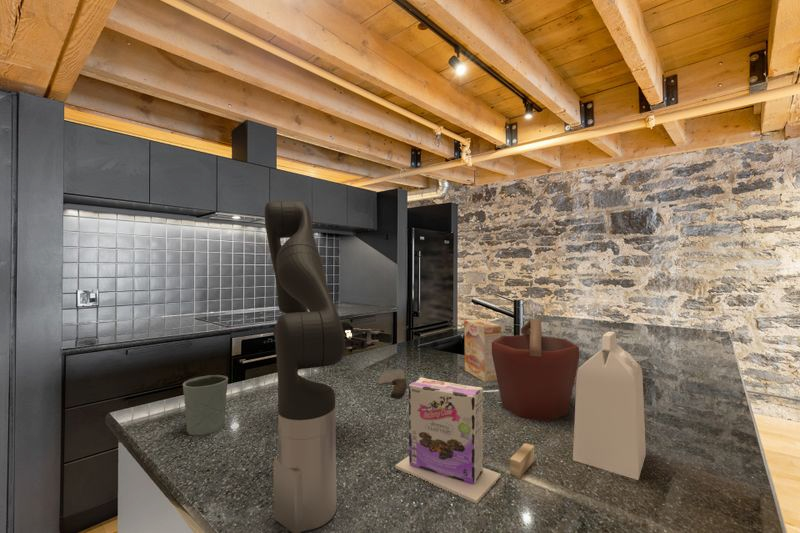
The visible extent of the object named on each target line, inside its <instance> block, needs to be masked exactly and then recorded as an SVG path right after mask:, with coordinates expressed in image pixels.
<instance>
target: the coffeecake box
mask: <svg viewBox="0 0 800 533" xmlns="http://www.w3.org/2000/svg"><path fill="white" fill-rule="evenodd" d="M463 325H464V371H465V372H467V373H469V374H471V376H474V377H475V378H477V379H479V380H480V381H482V382H484V383H489V382H494V381H497V376H496V371H495V366H494V362H493V357H492V342H493V341H494V340H496V339H498V338H499V337H501V336H502V324H501V325H500V324H499V323H494V322H491V321H487V320H483V319H480V318H477V319H476V318H475V319H472V318H471V319H464V324H463ZM497 382H498V381H497Z"/></svg>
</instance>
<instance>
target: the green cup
mask: <svg viewBox="0 0 800 533" xmlns="http://www.w3.org/2000/svg"><path fill="white" fill-rule="evenodd" d="M228 382H229V377H228V376H226V375H220V374H216V375H215V374H214V375H213V374H211V375H205V376H204V375H203V376H197V377H194V378H190V379H188V380H185V381H184V382H183V383H182V390H183V397H184V398H183V399H184V400H183V401H184V408H185V409H184V411H185V420H186V422H185V423H186V426H185V427H186V432H187V434H188V435H191V436H205V435H209V434H212V433H216V432H218V431H220V430H222V429H223V428H224V426H225V424H226V416H225V415H226V409H227V407H226V406H227V396H228V395H227V394H228V393H227V392H228Z"/></svg>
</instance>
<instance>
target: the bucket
mask: <svg viewBox="0 0 800 533" xmlns="http://www.w3.org/2000/svg"><path fill="white" fill-rule="evenodd" d="M541 320H542V319H541V318H533V317H532V318H531V317H530V319H529V320H528V321H527V322H526V323H525V324H524V325H523V326H522V327H520V334H519V335H518V334H517V335H501V337H499V338H498V339H496V340H494V341H493V342H492V357H493V362H494V366H495V371H496V376H497V384H498V390H499V395H500V399H501V404H502V408H503V409H505V410H506V411H508V412H509V413H512V414H513V415H515V416H517V417H519V418H520V419H521V418H522V419H530V420H540V421H548V422H549V421H550V422H551V421H553V420H557V419H558V418H562V417H563V416H566V415H568V413H569V410H570V404H571V403H570V402H571V400H572V399H571V398H572V394H573V388H574V386H575V381H576V380H575V378H576V377H577V372H578V366H579V362H580V346H578V345H577V344H575V343H573V342H571V341H569V339H566V338H559V337H552V336H545V335H543V329H542V321H541Z"/></svg>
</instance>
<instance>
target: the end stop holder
mask: <svg viewBox="0 0 800 533" xmlns="http://www.w3.org/2000/svg"><path fill="white" fill-rule="evenodd" d="M534 461H535V445H534V444H529V443H526V442H524V443H523V445H521V447H520V448H519V449H518V450H517V451H516V452H515V453H514V454H513V455H512V456H511V457H510V459H509V475H511V474H512V475H511V476H513V475H514V477H517V478H519V479H521V478H522V476H523V475H524V474H525V473H526V471H527V470H528V469H529V468H530V467H531V465H532V464H533V463H534ZM520 477H521V478H520Z"/></svg>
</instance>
